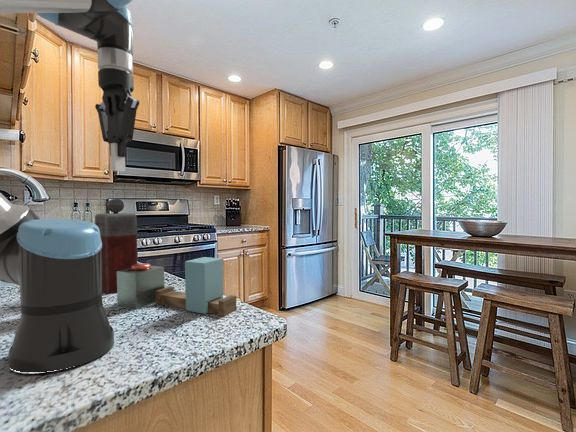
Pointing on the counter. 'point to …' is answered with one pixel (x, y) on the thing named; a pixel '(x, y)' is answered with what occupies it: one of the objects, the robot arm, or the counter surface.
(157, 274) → the grey button housing
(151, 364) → the counter surface
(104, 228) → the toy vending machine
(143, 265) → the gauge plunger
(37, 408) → the counter surface
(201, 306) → the carriage
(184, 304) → the rail
